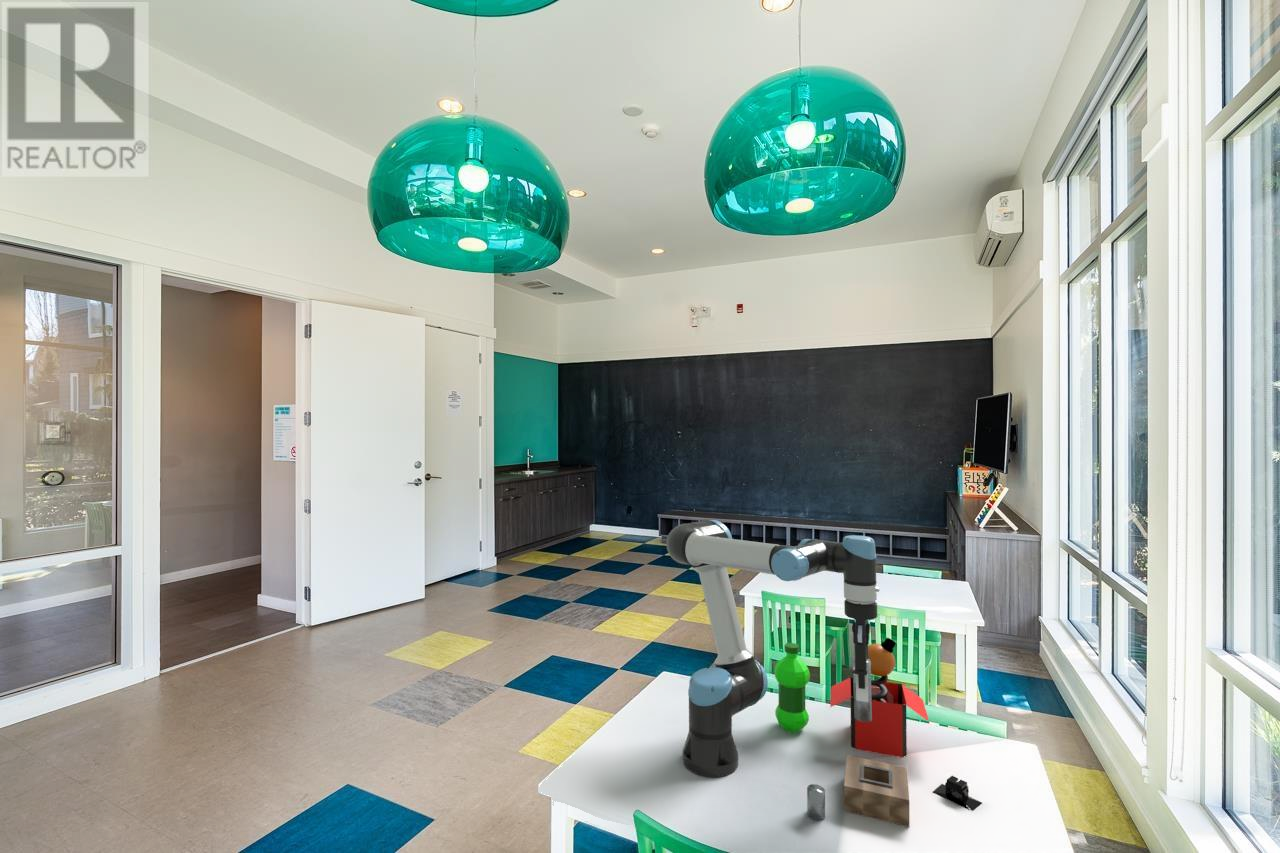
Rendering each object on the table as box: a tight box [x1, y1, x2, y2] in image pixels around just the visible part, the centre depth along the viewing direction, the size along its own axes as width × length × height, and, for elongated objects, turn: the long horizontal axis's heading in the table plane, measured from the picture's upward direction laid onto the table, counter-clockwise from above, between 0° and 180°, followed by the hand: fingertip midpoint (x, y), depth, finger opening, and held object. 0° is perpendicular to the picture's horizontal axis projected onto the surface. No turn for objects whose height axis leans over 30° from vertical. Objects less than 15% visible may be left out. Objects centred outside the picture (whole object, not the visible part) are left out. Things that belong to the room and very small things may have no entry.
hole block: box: [843, 755, 910, 828], centre depth 140 cm, size 14×14×6 cm
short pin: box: [806, 783, 826, 822], centre depth 135 cm, size 4×4×6 cm
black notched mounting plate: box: [932, 775, 983, 812], centre depth 142 cm, size 12×7×5 cm, turn 37°
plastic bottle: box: [773, 642, 811, 733], centre depth 175 cm, size 10×10×25 cm
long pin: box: [852, 657, 872, 722], centre depth 141 cm, size 4×4×14 cm
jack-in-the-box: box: [829, 637, 930, 758], centre depth 169 cm, size 26×16×30 cm, turn 71°
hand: (862, 696), depth 141 cm, fingers closed on long pin, 4 cm apart
